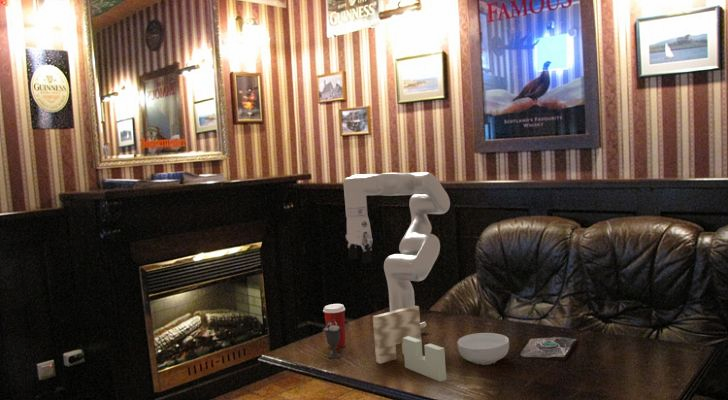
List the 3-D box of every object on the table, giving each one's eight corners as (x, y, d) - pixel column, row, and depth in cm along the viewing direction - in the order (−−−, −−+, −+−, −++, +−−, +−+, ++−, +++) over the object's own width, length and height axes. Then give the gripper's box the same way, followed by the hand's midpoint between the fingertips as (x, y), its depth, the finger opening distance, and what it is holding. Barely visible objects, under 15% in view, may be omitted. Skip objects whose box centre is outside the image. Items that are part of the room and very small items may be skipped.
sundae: (341, 359, 229) (338, 317, 228) (323, 359, 230) (319, 317, 229) (346, 353, 235) (342, 312, 234) (328, 353, 237) (324, 312, 235)
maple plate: (417, 349, 233) (414, 305, 232) (422, 350, 231) (418, 306, 230) (376, 362, 224) (372, 316, 222) (380, 363, 222) (376, 317, 220)
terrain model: (534, 340, 236) (533, 331, 236) (577, 343, 228) (576, 334, 228) (518, 358, 218) (517, 348, 218) (564, 363, 211) (563, 353, 211)
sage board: (410, 365, 218) (408, 336, 217) (446, 379, 203) (444, 348, 202) (405, 367, 216) (402, 337, 215) (440, 381, 201) (438, 350, 200)
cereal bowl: (478, 349, 229) (477, 329, 228) (520, 358, 217) (518, 337, 216) (448, 363, 217) (446, 342, 216) (490, 373, 205) (489, 351, 204)
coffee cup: (351, 342, 248) (348, 303, 246) (343, 349, 240) (340, 309, 238) (330, 341, 250) (327, 303, 249) (322, 348, 243) (319, 309, 241)
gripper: (378, 212, 223) (382, 261, 225) (353, 209, 238) (357, 256, 239) (359, 215, 219) (363, 265, 221) (335, 212, 234) (339, 259, 236)
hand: (360, 260), depth 230 cm, fingers open, 9 cm apart
